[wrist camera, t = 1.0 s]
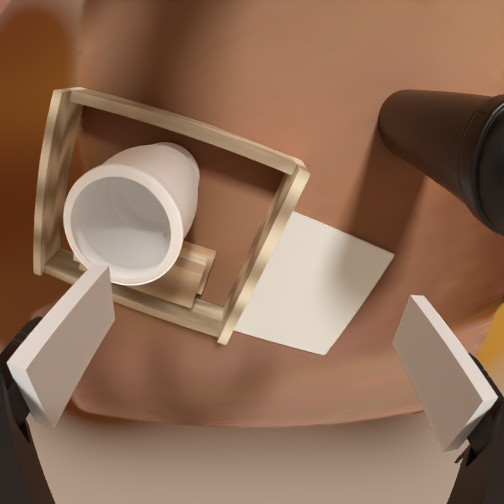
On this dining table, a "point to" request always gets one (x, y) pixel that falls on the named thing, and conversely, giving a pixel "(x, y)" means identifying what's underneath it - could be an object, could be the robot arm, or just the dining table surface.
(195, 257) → the offcut stack
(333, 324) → the mat
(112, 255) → the jar
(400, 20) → the dining table surface
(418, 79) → the dining table surface
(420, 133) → the water bottle
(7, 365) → the robot arm
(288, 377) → the dining table surface
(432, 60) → the dining table surface
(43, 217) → the rack
